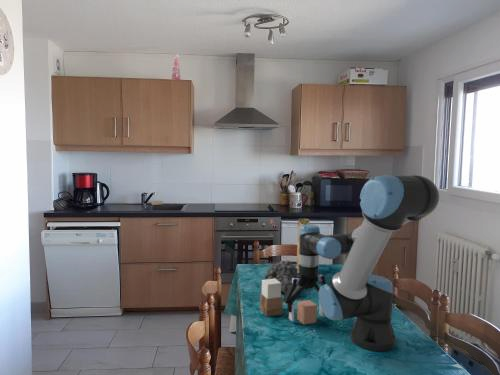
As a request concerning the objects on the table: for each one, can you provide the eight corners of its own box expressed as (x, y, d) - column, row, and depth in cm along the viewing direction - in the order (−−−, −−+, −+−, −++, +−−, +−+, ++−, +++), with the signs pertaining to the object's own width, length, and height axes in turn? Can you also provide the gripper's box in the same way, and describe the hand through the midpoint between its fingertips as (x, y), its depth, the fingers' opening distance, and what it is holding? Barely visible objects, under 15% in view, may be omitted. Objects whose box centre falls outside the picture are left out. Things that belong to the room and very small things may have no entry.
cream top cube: (280, 297, 154) (281, 283, 153) (267, 299, 152) (267, 284, 151) (274, 292, 159) (275, 278, 159) (261, 293, 157) (261, 279, 157)
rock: (268, 309, 175) (297, 302, 170) (254, 280, 174) (284, 272, 168) (278, 286, 195) (305, 279, 190) (266, 260, 194) (293, 252, 188)
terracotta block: (316, 322, 147) (316, 305, 146) (303, 324, 145) (304, 306, 144) (309, 316, 152) (309, 300, 151) (297, 318, 150) (297, 301, 149)
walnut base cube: (282, 314, 154) (282, 297, 153) (266, 316, 152) (267, 299, 151) (275, 307, 161) (275, 291, 160) (259, 309, 158) (260, 293, 157)
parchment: (295, 269, 215) (297, 217, 212) (306, 270, 215) (308, 218, 212) (299, 283, 192) (301, 225, 189) (311, 284, 191) (313, 225, 189)
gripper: (330, 259, 155) (328, 309, 156) (275, 264, 146) (273, 317, 147) (341, 264, 148) (339, 316, 149) (283, 270, 139) (282, 325, 140)
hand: (306, 317), depth 148 cm, fingers open, 13 cm apart
